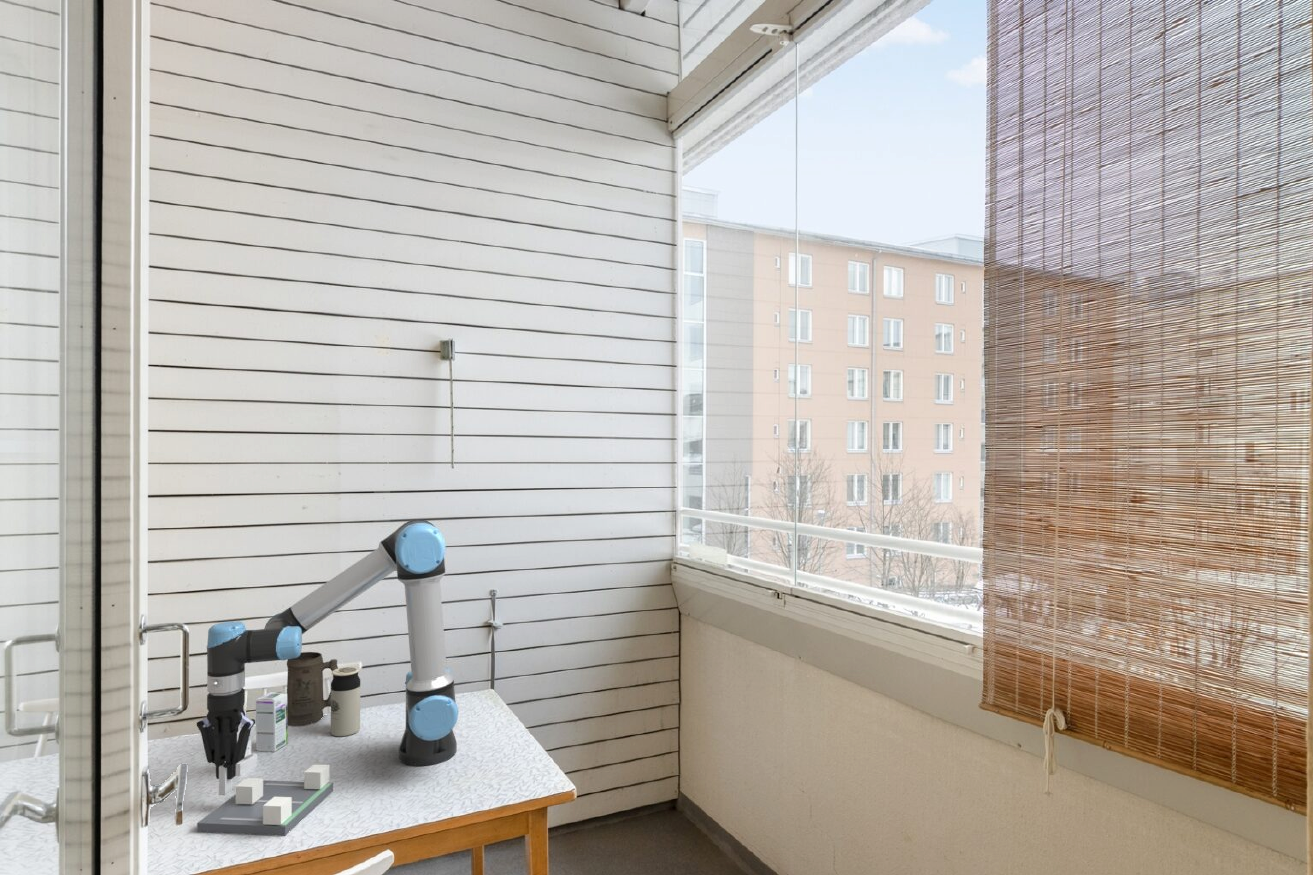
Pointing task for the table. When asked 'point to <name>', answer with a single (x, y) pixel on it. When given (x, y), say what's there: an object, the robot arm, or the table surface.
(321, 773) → the white cubic piece
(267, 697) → the syrup box
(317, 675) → the beer stein
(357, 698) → the travel mug
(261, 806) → the grey striped board
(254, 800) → the white cubic block
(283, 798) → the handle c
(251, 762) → the white wedge bracket
